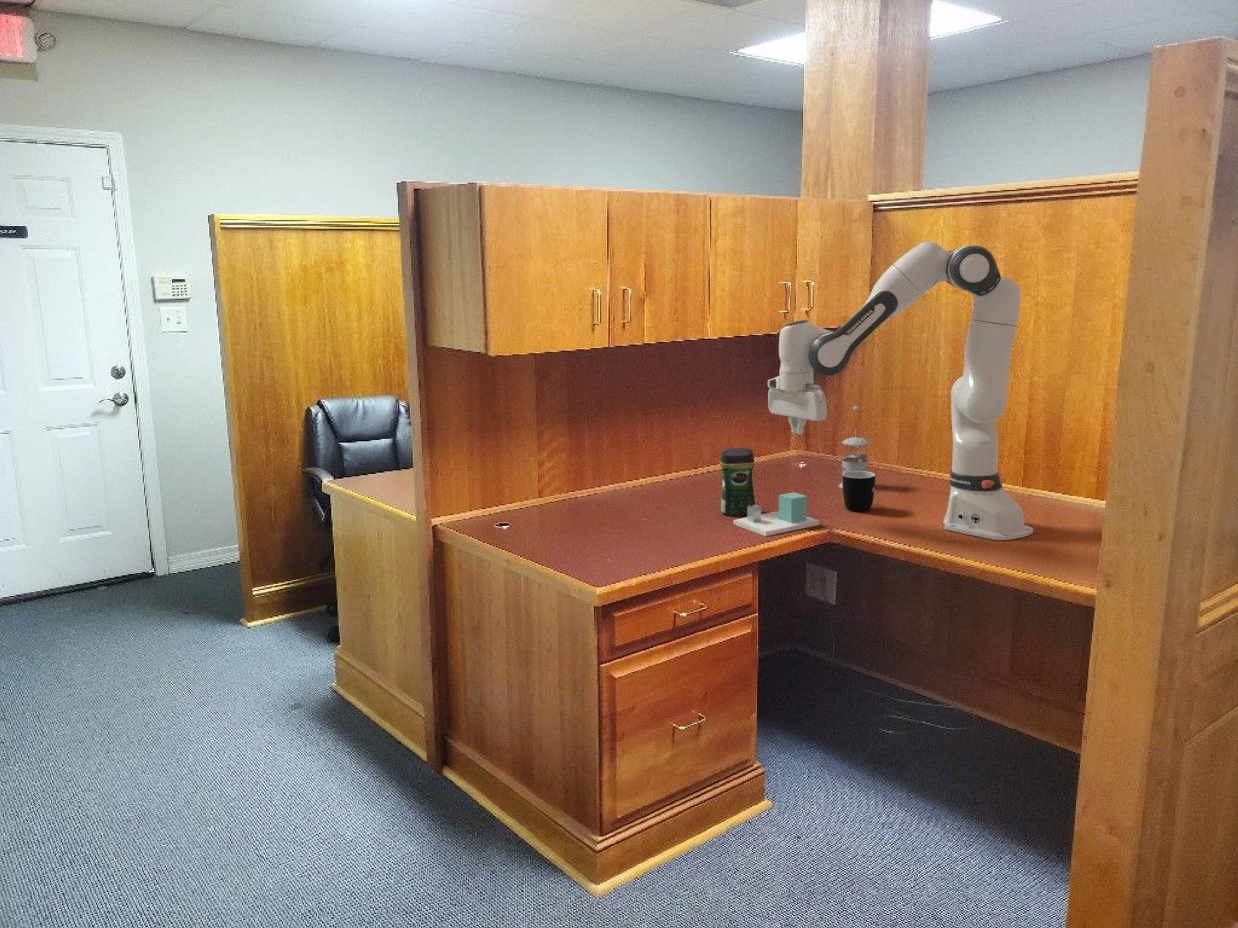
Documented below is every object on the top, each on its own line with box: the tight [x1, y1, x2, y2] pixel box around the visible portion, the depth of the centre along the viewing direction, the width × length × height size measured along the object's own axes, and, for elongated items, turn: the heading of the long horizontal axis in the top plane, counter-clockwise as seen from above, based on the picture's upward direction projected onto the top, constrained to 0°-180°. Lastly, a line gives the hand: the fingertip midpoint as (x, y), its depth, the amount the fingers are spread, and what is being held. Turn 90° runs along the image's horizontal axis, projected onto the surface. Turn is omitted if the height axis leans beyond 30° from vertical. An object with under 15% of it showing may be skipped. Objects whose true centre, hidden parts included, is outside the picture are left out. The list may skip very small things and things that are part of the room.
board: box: [732, 510, 820, 537], centre depth 261 cm, size 14×18×1 cm
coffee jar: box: [719, 447, 756, 516], centre depth 272 cm, size 10×8×19 cm
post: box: [746, 504, 762, 523], centre depth 261 cm, size 3×3×4 cm
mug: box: [841, 470, 876, 513], centre depth 274 cm, size 12×9×10 cm
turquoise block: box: [778, 491, 808, 523], centre depth 260 cm, size 5×5×7 cm
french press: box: [838, 405, 870, 489], centre depth 298 cm, size 10×12×25 cm
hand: (797, 433), depth 261 cm, fingers closed
